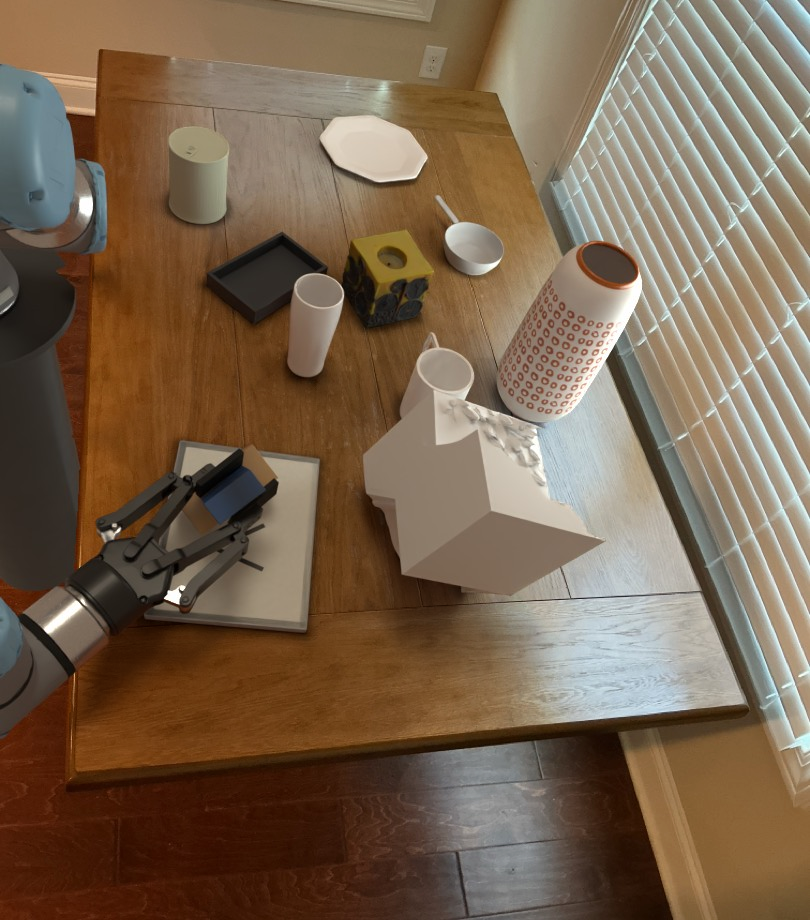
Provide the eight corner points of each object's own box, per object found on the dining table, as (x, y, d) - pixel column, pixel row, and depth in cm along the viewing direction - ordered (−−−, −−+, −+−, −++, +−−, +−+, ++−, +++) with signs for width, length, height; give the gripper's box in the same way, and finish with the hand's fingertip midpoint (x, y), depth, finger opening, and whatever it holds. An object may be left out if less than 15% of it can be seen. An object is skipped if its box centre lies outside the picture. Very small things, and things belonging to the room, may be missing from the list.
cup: (439, 372, 116) (457, 327, 108) (459, 435, 110) (481, 392, 102) (388, 373, 114) (404, 327, 105) (406, 438, 107) (424, 394, 99)
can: (158, 210, 121) (155, 144, 112) (185, 180, 127) (185, 115, 117) (210, 232, 122) (213, 167, 112) (235, 201, 127) (240, 138, 117)
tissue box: (349, 460, 100) (463, 348, 83) (446, 486, 108) (567, 390, 91) (357, 604, 89) (490, 510, 72) (464, 622, 97) (606, 541, 80)
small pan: (461, 285, 129) (468, 268, 126) (406, 217, 136) (412, 200, 133) (508, 272, 134) (516, 255, 131) (454, 207, 141) (460, 190, 138)
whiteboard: (143, 619, 84) (143, 615, 83) (180, 444, 98) (180, 439, 97) (305, 633, 88) (306, 629, 87) (318, 462, 102) (319, 458, 101)
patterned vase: (475, 371, 118) (543, 228, 96) (547, 363, 123) (628, 225, 100) (507, 440, 112) (589, 303, 89) (582, 428, 117) (677, 296, 94)
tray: (253, 324, 113) (255, 311, 111) (206, 285, 115) (206, 272, 113) (326, 278, 122) (328, 266, 120) (280, 243, 124) (282, 231, 122)
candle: (392, 275, 126) (406, 227, 118) (421, 317, 122) (437, 271, 114) (338, 285, 122) (349, 236, 114) (365, 330, 117) (379, 282, 109)
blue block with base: (200, 531, 91) (206, 548, 78) (174, 498, 90) (176, 510, 77) (273, 475, 93) (291, 483, 81) (248, 443, 92) (262, 446, 80)
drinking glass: (289, 386, 108) (302, 311, 96) (276, 350, 111) (287, 274, 99) (333, 379, 110) (351, 306, 98) (319, 345, 113) (335, 270, 101)
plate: (343, 110, 150) (344, 103, 149) (434, 148, 150) (436, 141, 149) (305, 159, 138) (306, 152, 137) (404, 200, 138) (406, 193, 137)
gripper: (32, 567, 77) (201, 440, 90) (152, 684, 74) (310, 535, 87) (19, 535, 71) (203, 404, 84) (149, 661, 68) (320, 504, 81)
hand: (257, 471), depth 86 cm, fingers closed on blue block with base, 5 cm apart
